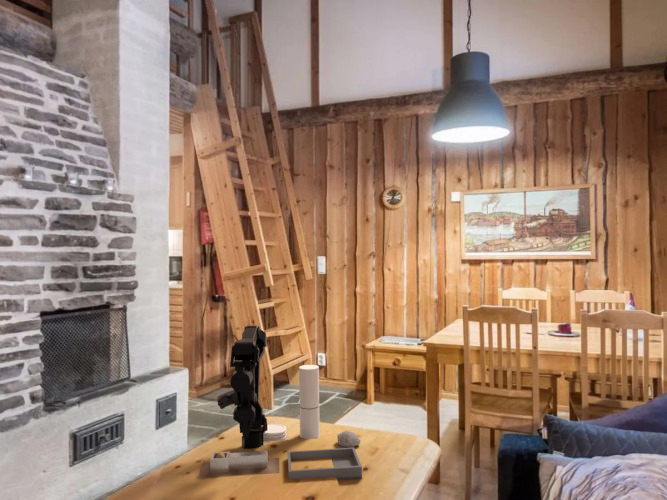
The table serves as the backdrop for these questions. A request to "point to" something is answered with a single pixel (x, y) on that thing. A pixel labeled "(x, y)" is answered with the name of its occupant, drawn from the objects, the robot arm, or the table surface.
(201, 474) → the stud board
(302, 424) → the cylindrical container
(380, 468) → the table surface
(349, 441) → the pebble
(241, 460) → the square nut with handle
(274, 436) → the white round stack
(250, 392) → the robot arm
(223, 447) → the table surface
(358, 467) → the tray
